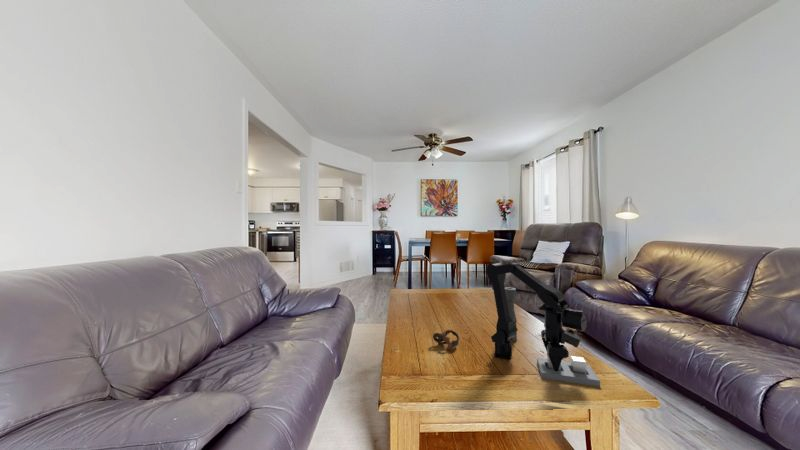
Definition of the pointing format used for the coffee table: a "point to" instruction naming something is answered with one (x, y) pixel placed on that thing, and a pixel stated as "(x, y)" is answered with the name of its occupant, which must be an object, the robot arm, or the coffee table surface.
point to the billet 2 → (578, 365)
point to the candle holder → (511, 305)
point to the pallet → (568, 373)
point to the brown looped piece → (446, 338)
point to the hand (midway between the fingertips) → (553, 365)
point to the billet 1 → (549, 364)
